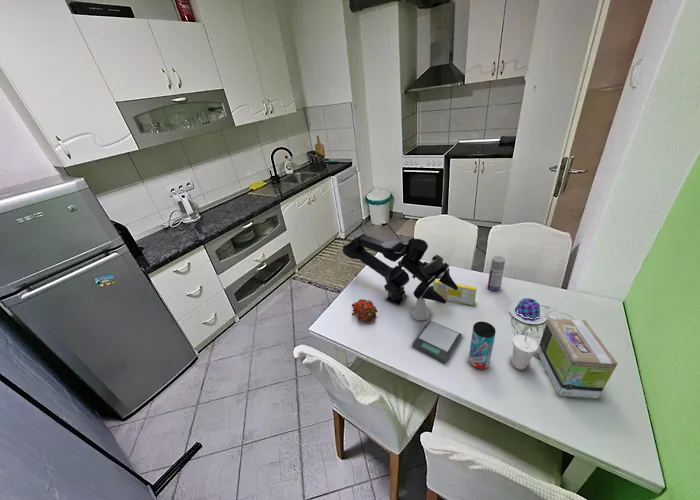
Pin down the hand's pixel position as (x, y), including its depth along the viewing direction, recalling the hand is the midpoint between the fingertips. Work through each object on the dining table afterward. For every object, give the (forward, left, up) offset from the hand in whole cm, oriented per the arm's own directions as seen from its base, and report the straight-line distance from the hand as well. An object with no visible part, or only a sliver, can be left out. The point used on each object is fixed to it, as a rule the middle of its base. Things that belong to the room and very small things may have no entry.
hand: (451, 295), depth 96 cm
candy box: (-4, +13, -14) cm, 19 cm away
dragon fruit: (-29, -14, -14) cm, 35 cm away
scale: (0, -10, -13) cm, 17 cm away
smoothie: (+24, -4, -14) cm, 28 cm away
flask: (-11, -1, -14) cm, 18 cm away
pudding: (+21, +20, -14) cm, 32 cm away
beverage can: (+14, -10, -14) cm, 22 cm away
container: (+7, +28, -14) cm, 31 cm away
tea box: (+35, 0, -14) cm, 38 cm away
